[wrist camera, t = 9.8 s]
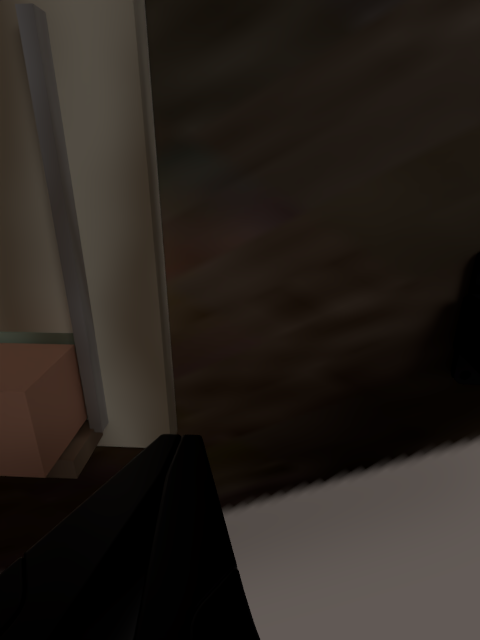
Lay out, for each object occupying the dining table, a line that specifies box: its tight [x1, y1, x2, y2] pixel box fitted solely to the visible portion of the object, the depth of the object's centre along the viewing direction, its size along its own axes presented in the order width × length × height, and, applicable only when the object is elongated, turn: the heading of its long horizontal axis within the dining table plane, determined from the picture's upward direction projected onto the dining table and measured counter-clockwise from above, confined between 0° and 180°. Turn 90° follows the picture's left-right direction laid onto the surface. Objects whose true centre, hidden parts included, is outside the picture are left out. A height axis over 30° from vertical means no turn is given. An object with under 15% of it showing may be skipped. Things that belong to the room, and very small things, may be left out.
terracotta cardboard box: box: [0, 343, 87, 478], centre depth 17 cm, size 4×4×4 cm
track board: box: [0, 0, 177, 479], centre depth 16 cm, size 12×20×4 cm, turn 0°
